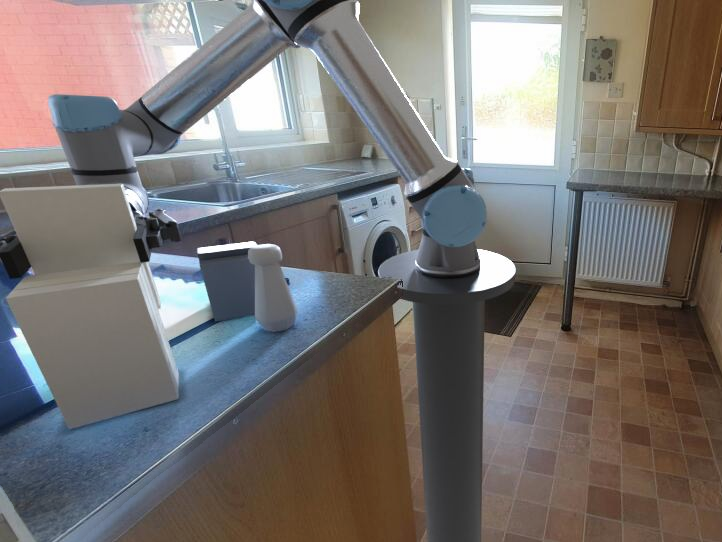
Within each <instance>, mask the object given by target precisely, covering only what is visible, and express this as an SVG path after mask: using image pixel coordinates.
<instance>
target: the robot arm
mask: <svg viewBox="0 0 722 542" xmlns="http://www.w3.org/2000/svg"><path fill="white" fill-rule="evenodd" d="M360 7H361V6H360V3H359V0H251V3H250V4H249V6H248V7H246V8H245V9H244V10H243V11H242V12H240V13H238V15H237V16H235V17H234V18H233V19H232V20H231V21H229V22H228V23H227V24H226V25H225V26H224V27H222V28H221V29H220V30H219V31H217V33H215V34H214V35H213V36H211V37H210V38H209V39H208V40H207V41H206V42H204V43H203V44H202V45H200V47H198V48H197V49H196V50H194V52H192V53H191V54H190V55H189V56H187V57H186V58H185V59H184V60H183V61H182V62H181V63H179V64H177V66H176V67H175V68H174V69H173V68H172V70H171V71H170V72H168V73H167V74H166V75H165V76H164V77H162V78H160V80H159V81H158V82H157V83H155V84H153V86H152V87H151V88H149V89H148V90H147V91H145V93H143V94H142V96H140V97H138V99H136V101H134V102H132V104H130V105H129V106H128V107H127V108H125V109H120V107H119V105H118V103H117V102H116V100H115V99H113V98H112V97H109V96H101V95H84V94H83V95H81V94H79V95H78V94H59V93H58V94H57V93H56V94H55V93H54V94H51V95H50V96H48V98H47V104H48V107H49V111H50V112H49V113H50V115H51V119H52V121H51V122H52V125H53V127H54V129H55V132H56V134H57V137H58V139H59V142H60V145H61V147H62V150H63V152H64V155H65V157H66V160H67V163H68V165H69V168H70V171H71V173H72V177H73V179H74V182H75V186H76V185H101V184H123V185H124V188H125V192H126V195H127V198H128V201H129V204H130V207H131V210H132V213H133V216H134V220H135V223H136V226H137V230H136V232H135V235H134V238H133V241H134V244H135V247H136V250H137V253H138V256H139V259H140V262H141V263H143V262H148V263H150V261H151V256H152V252H153V251H152V250H153V249H156V248H161V247H163V245H164V244H165V241H166V240H168V241H169V242H172V243H173V242H174V243H179V242H181V241H183V238H182V235H181V231H180V227H179V223H178V221H177V220H176V219H174V218H172V217H171V216H169V215H168V214H167V211H166V209H163V208H157V209H154V210H153V211H148V210H149V206H150V199H149V195H148V193H147V190H146V189H145V188H144V187H143V184H142V180H141V177H140V174H139V170H138V167H137V164H136V159H135V158H138V157H144V156H151V155H162V154H166V153H168V152H169V151H172V150H174V149H175V148H176V147H178V146H179V143H180V141H181V136H182V135H183V134H185V133H186V132H187V131H188V130H189V129H191V128H192V127H193V126H194V125H195V124H197V123H198V122H199V121H200V120H202V119H203V118H204V117H205V116H207V115H209V113H210V112H211V111H213V110H214V109H215V108H217V107H218V106H219V105H220V104H221V103H223V102H224V101H225V100H226V99H227V98H228V97H230V96H232V94H234V93H235V92H236V91H237V90H238V89H240V88H241V87H242V86H243V85H244V84H246V83H247V82H248V81H249V80H251V79H252V78H253V77H254V76H256V75H257V74H258V73H259V72H260V71H262V70H264V68H265V67H267V66H268V65H269V64H270V63H271V62H273V61H274V60H275V59H276V58H278V57H279V56H281V54H282V53H283V52H285V51H287V49H289V48H293V49H296V50H297V49H300V48H304V49H308V50H310V51H311V52H313V53H314V55H315V56H316V57H317V59H318V61H319V62H320V63H321V65H322V66H323V68H324V69H325V70H326V72H327V73H328V74H329V76H330V77H331V79H332V80H333V82H334V84H335V85H336V86H337V88H338V89H339V90H340V92H341V93H342V94H343V96H344V97H345V99H346V100H347V102H348V104H349V105H350V106H351V107H352V109H353V110H354V112H355V113H356V114H357V116H358V118H359V119H360V120H361V122H362V123H363V124H364V126H365V127H366V129H367V130H368V131H369V133H370V134H371V136H372V138H373V139H374V140H375V141H376V143H377V144H378V146H379V147H380V149H381V150H382V152H384V154H385V156H386V157H387V158H388V160H389V161H390V162H391V164H392V166H393V167H394V169H396V171H397V173H398V174H399V176H400V177H401V179H402V180H403V181H404V183H405V186H404V192H403V193H404V194H403V195H404V197H405V198H406V200H407V201H408V202H409V204H410V205H411V207H412V208H413V210H414V211H415V212H416V214H417V215H418V216H419V218H420V221H421V238H420V239H421V240H420V243H419V246H418V249H417V250H418V253H417V257H416V261H415V263H416V270H417V271H418V272H419V273H421V274H423V275H425V276H429V277H434V278H445V279H449V278H461V277H466V276H470V275H472V274H475V273H476V272H478V271H479V270H480V268H481V260H480V256H479V253H478V250H477V249H478V248H477V243H476V242H475V241H476V240H478V238H479V237H480V236H481V234H482V233H483V231H484V229H485V227H486V225H487V219H488V211H487V206H486V205H487V204H486V203H485V200H484V198H483V196H482V195H481V194H480V193H479V192H477V190H476V189H475V187H474V183H475V178H474V172H473V170H472V169H471V168H469V167H468V168H466V167H462V166H461V165H460V163H459V162H458V160H457V159H453V158H449V157H446V156H445V155H444V154H443V151H442V150H441V149H440V147H439V145H438V144H437V142H436V141H435V139H434V138H433V136H432V134H431V133H430V131H429V130H428V128H427V127H426V126H427V125H425V123H424V121H423V120H422V118H421V117H420V115H419V113H418V112H417V111H416V109H415V107H414V106H413V104H412V103H411V101H410V100H409V98H408V96H407V95H406V93H405V92H404V90H403V88H402V87H401V85H400V83H399V82H398V81H397V78H396V77H395V76H394V74H393V73H392V71H391V69H390V68H389V67H388V64H387V63H386V61H385V60H384V59H383V57H382V56H381V54H380V52H379V50H378V49H377V48H376V46H375V44H374V43H373V41H372V40H371V38H370V36H369V35H368V33H367V31H366V30H365V28H364V27H363V25H362V24H361V22H360V20H359V15H360ZM146 214H148V215H146ZM0 263H1V264H2V265H3V268H4V269H5V271H6V274H7V276H8V278H9V280H13V279H21V278H22V279H23V277H24V276H25V274H26V273H27V272H29V270H30V269H32V268H31V265H30V263H29V261H28V258H27V256H26V254H25V252H24V249H23V247H22V245H21V242H20V240H19V238H18V236H17V234H16V231H15V229H14V227H13V225H11V226H8V227H5V228H3V229H1V230H0Z"/></svg>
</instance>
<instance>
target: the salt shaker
mask: <svg viewBox="0 0 722 542" xmlns="http://www.w3.org/2000/svg"><path fill="white" fill-rule="evenodd" d="M248 259H249V262H250V263H251V264H254V265H255V314H254V319H255V320H256V322H257V323H258V324H259V325H260V326H261V327H262V329H263V330H265V331H268V332H271V333H277V332H282V331H287V330H289V329H290V328H291V327H293V326H294V325H295V323H296V319H297V316H298V307H297V305H296V302H295V300H294V297H293V295H292V292H291V290H290V287H289V284H288V282H287V279H286V277H285V275H284V271H283V269H282V266H281V264H280V262H281V261H282V260H283V253H282V250H281V248H280V247H279V245H276V244H271V243H266V244H265V243H262V244H257V246H254V247H252V248H250V249H249V250H248Z"/></svg>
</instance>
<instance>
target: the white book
mask: <svg viewBox="0 0 722 542" xmlns="http://www.w3.org/2000/svg"><path fill="white" fill-rule="evenodd" d="M0 200H1V202H2V204H3V206H4V208H5V211H6V213H7V215H8V218H9V220H10V222H11V224H12V225H11V226H13V227H14V229H15V231H16V234H17V236H18V238H19V240H20V242H21V245H22V247H23V249H24V252H25V254H26V256H27V258H28V261H29V263H30V265H31V268H30V269H31V270H32V272H33V275H38V274H46V273H54V272H62V271H70V270H78V269H86V268H94V267H102V266H109V265H117V264H125V263H133V262H140V259H139V256H138V253H137V250H136V247H135V244H134V241H133V238H134V235H135V232H136V230H137V226H136V223H135V220H134V216H133V213H132V210H131V207H130V204H129V201H128V198H127V195H126V192H125V188H124V185H123V184H101V185H76V184H75V185H54V186H52V185H51V186H31V187H29V186H28V187H8V188H7V187H5V188H3V189H1V190H0ZM149 263H150V262H143V265H144V268H145V271H146V275H147V278H148V281H149V284H150V287H151V290H152V293H153V296H154V299H155V302H156V305H157V308H158V310H160V309H161V308H162V301H161V298H160V295H159V291H158V289H157V285H156V282H155V279H154V276H153V273H152V269H151V266H150V264H149Z"/></svg>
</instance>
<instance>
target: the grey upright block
mask: <svg viewBox="0 0 722 542" xmlns="http://www.w3.org/2000/svg"><path fill="white" fill-rule="evenodd" d="M257 245H258V244H257V243H256V242H255V241H248V242H246V241H245V242H240V243H229V244H223V245H222V244H221V245H213V246H205V247H197V248H196V254H197V258H198V264H199V268H200V272H201V275H202V279H203V283H204V286H205V290H206V294H207V297H208V301H209V305H210V308H211V312H212V316H213V319H214V322H215V323H216V322H222V321H227V320H231V319H236V318H242V317H246V316H251V315H255V265H254V264H251V263H250V262H249V259H248V250H249V249H250V248H252V247H254V246H257Z"/></svg>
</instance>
